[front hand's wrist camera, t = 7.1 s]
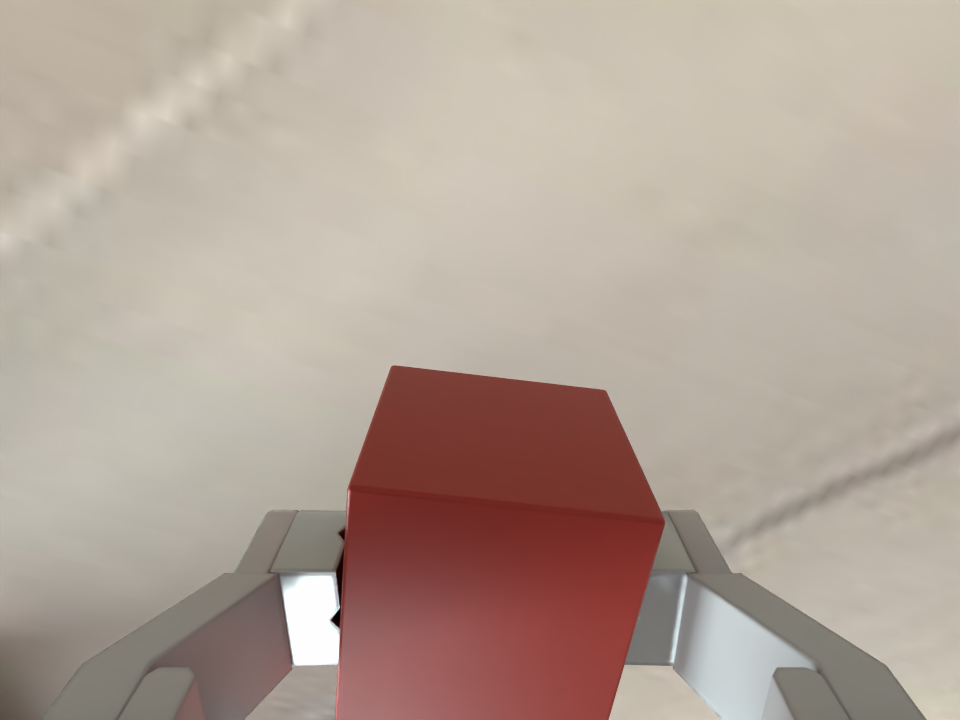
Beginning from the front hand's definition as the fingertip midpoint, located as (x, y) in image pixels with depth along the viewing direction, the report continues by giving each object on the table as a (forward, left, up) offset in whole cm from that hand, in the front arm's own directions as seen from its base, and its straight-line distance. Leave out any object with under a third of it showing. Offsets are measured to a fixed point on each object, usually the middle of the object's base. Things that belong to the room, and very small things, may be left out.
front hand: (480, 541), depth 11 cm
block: (0, 0, -2) cm, 2 cm away
